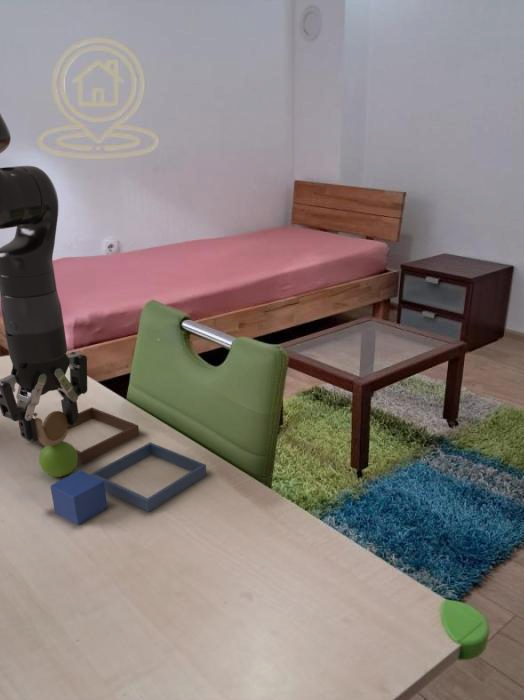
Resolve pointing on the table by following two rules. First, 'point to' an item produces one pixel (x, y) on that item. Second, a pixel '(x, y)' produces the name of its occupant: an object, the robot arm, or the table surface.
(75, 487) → the blue block
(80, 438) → the table surface
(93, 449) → the brown tray
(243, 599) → the table surface
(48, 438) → the snail figurine
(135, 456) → the blue tray
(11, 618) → the table surface
